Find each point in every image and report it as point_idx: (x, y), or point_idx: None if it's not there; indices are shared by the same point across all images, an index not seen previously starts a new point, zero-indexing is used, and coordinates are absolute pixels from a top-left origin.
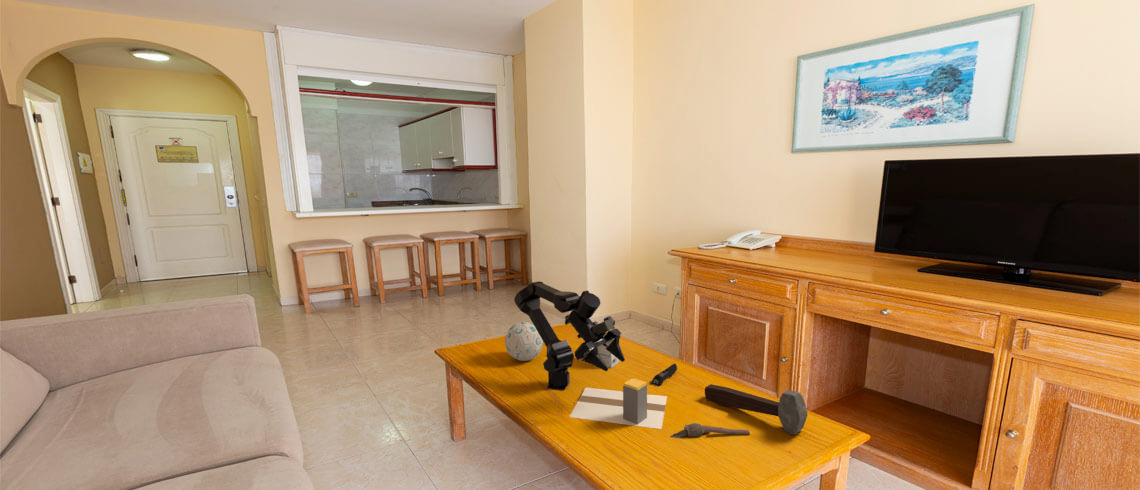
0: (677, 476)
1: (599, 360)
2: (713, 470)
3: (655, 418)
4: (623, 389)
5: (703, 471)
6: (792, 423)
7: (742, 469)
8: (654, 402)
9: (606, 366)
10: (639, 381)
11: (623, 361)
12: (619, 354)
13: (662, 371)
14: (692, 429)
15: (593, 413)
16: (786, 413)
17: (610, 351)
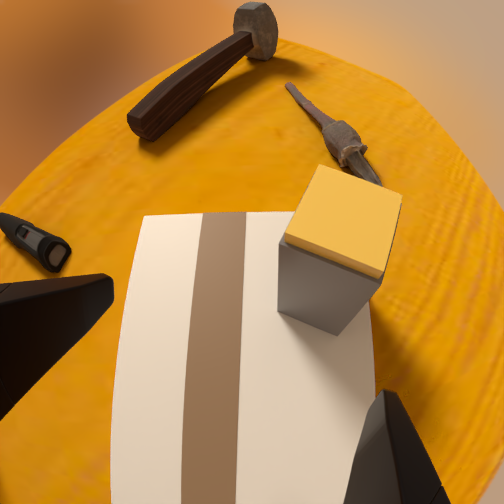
0: (480, 186)
1: (439, 496)
2: (432, 136)
3: None
4: (376, 290)
5: (444, 149)
6: (272, 41)
7: (403, 106)
8: (187, 246)
9: (396, 410)
10: (322, 192)
11: (112, 293)
12: (59, 310)
13: (19, 239)
14: (359, 137)
15: (325, 456)
16: (266, 33)
17: (8, 400)
